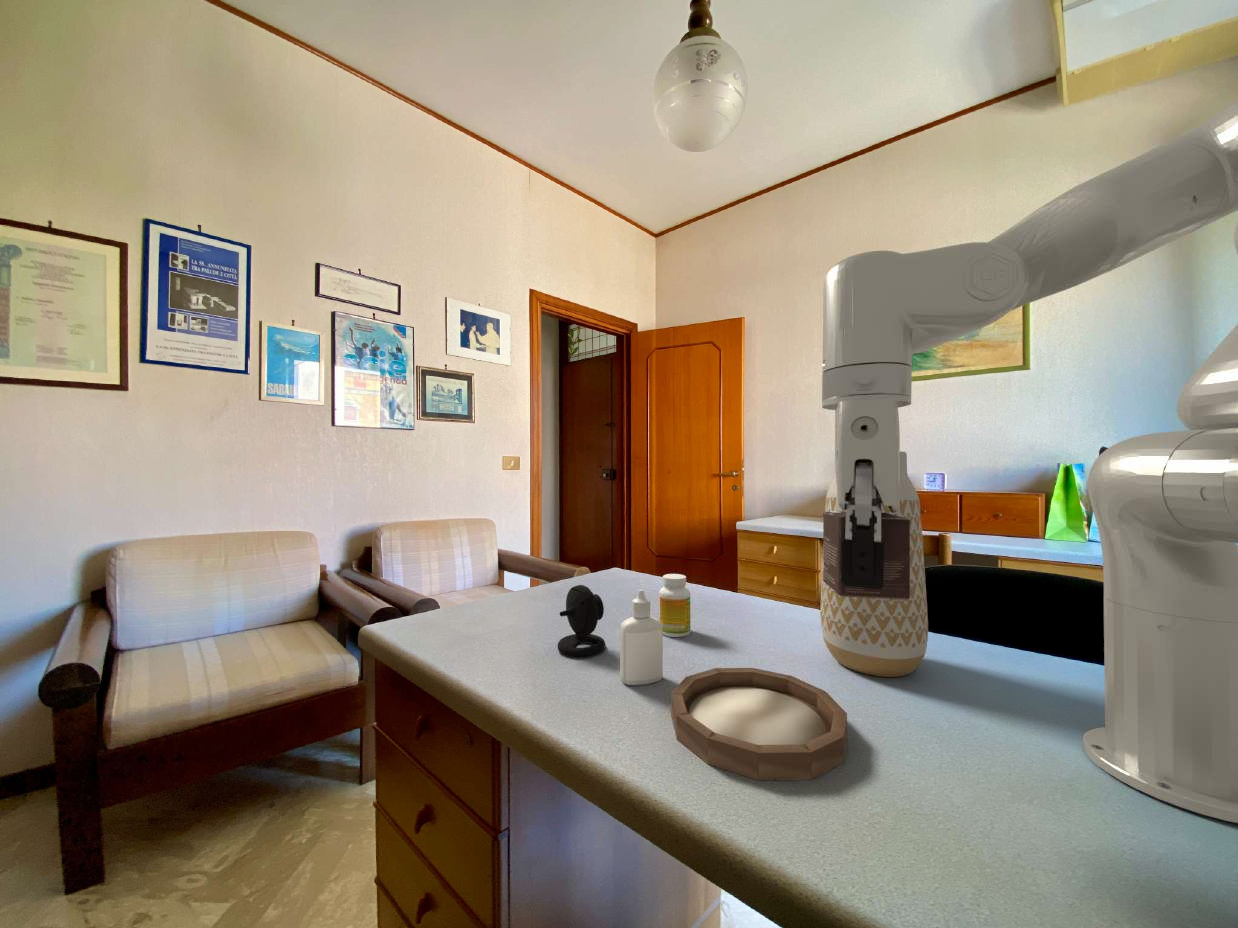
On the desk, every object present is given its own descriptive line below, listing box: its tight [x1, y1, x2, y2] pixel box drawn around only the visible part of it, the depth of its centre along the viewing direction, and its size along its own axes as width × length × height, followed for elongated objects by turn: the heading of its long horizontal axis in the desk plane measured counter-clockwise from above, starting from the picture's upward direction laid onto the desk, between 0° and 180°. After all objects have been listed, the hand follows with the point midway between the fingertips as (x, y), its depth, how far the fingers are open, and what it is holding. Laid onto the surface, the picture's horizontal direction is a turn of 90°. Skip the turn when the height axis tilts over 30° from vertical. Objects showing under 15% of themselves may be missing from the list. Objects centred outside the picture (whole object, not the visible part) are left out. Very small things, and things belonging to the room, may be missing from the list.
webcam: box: [557, 584, 606, 659], centre depth 74 cm, size 8×8×10 cm
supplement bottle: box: [658, 573, 691, 638], centre depth 81 cm, size 5×5×10 cm
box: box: [822, 511, 910, 600], centre depth 44 cm, size 6×6×7 cm
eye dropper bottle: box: [619, 589, 664, 686], centre depth 63 cm, size 4×6×12 cm
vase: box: [819, 450, 929, 678], centre depth 68 cm, size 14×14×31 cm
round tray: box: [670, 667, 848, 781], centre depth 52 cm, size 18×18×2 cm
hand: (862, 576), depth 44 cm, fingers closed on box, 7 cm apart
